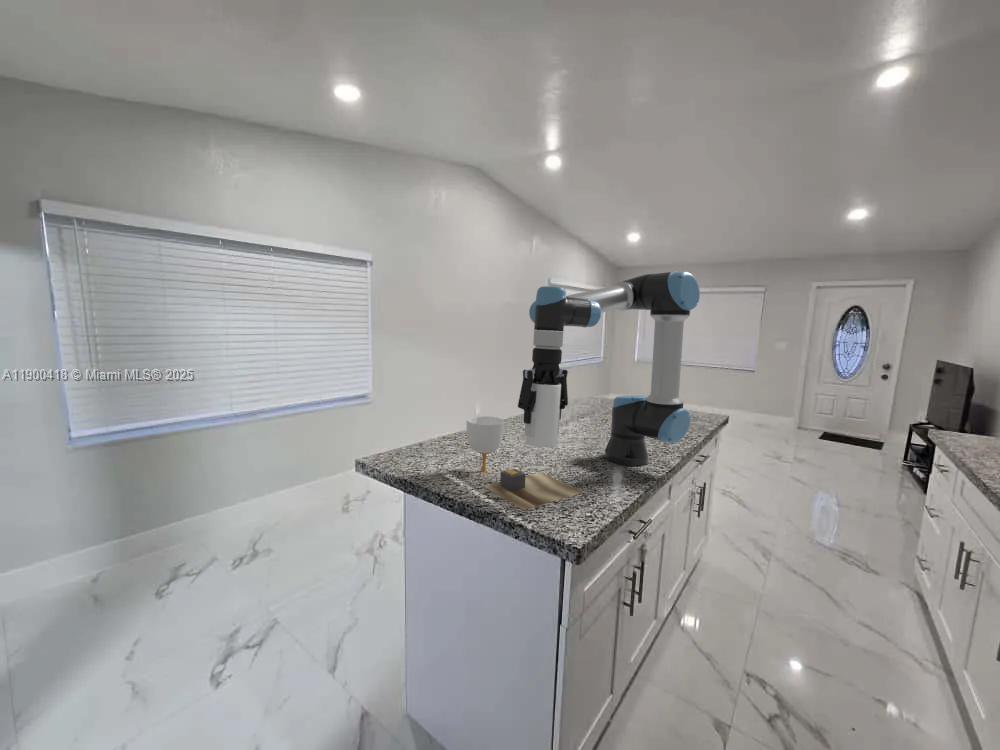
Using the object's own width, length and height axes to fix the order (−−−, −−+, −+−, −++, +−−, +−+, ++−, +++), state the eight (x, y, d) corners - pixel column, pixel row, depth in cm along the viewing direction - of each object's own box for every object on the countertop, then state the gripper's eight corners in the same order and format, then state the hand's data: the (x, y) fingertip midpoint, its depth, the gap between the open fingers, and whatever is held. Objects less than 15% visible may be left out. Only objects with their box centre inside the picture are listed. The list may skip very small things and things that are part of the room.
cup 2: (562, 446, 109) (567, 385, 108) (534, 448, 106) (538, 385, 105) (547, 438, 117) (551, 380, 115) (520, 439, 114) (524, 380, 112)
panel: (541, 475, 132) (541, 472, 132) (584, 495, 118) (584, 491, 118) (482, 489, 119) (483, 485, 119) (523, 513, 105) (523, 509, 105)
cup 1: (475, 483, 123) (477, 426, 121) (458, 470, 133) (460, 417, 131) (509, 477, 129) (512, 423, 127) (490, 465, 139) (492, 415, 137)
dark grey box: (514, 481, 123) (514, 467, 122) (524, 487, 119) (525, 472, 118) (500, 485, 120) (500, 470, 120) (510, 491, 116) (511, 475, 116)
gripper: (566, 347, 118) (560, 426, 121) (506, 346, 106) (501, 434, 108) (586, 349, 112) (579, 432, 115) (525, 348, 100) (519, 441, 102)
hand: (541, 433), depth 111 cm, fingers closed on cup 2, 8 cm apart
